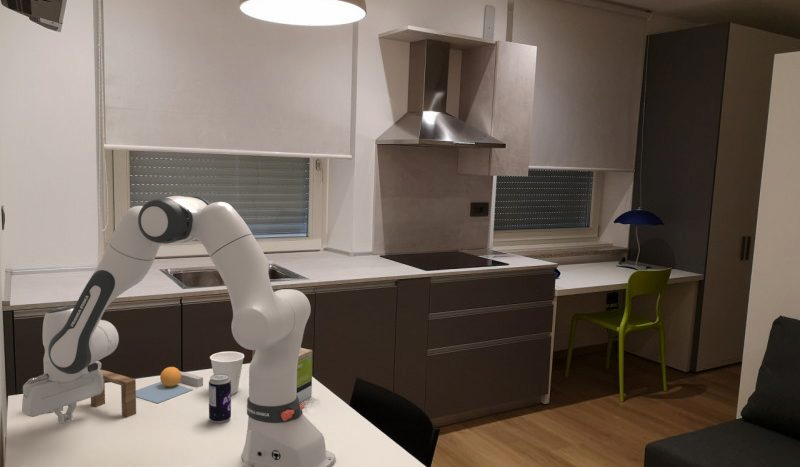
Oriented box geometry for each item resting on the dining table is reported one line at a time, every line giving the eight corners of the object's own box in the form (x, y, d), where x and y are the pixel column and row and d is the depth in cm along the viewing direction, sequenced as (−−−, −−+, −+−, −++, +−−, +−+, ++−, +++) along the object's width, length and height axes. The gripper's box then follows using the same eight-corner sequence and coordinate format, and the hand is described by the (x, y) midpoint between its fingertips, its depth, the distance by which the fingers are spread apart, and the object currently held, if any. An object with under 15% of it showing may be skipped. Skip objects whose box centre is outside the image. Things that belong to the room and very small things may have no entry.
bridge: (136, 413, 177) (135, 379, 176) (126, 417, 174) (126, 382, 173) (100, 402, 184) (99, 368, 183) (90, 405, 182) (90, 371, 180)
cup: (207, 388, 197) (207, 353, 196) (240, 384, 201) (240, 350, 200) (212, 400, 188) (212, 363, 187) (247, 395, 192) (247, 359, 191)
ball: (188, 378, 199) (179, 365, 196) (174, 393, 196) (165, 381, 192) (175, 372, 203) (166, 360, 199) (162, 387, 199) (152, 375, 195)
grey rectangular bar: (203, 385, 200) (203, 377, 199) (198, 387, 198) (198, 379, 198) (175, 377, 205) (175, 369, 205) (170, 379, 204) (170, 371, 203)
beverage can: (224, 425, 171) (224, 381, 170) (205, 422, 172) (204, 379, 171) (234, 417, 177) (234, 374, 175) (215, 414, 178) (215, 372, 176)
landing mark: (192, 389, 195) (192, 389, 195) (157, 403, 184) (157, 403, 184) (163, 381, 202) (162, 380, 202) (127, 394, 191) (127, 393, 190)
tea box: (250, 397, 191) (251, 348, 189) (272, 387, 200) (273, 340, 198) (292, 408, 184) (292, 357, 182) (312, 397, 193) (313, 348, 191)
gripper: (30, 383, 155) (32, 439, 156) (106, 361, 172) (107, 411, 174) (15, 378, 158) (17, 432, 159) (91, 356, 175) (92, 406, 177)
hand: (65, 421), depth 167 cm, fingers closed
